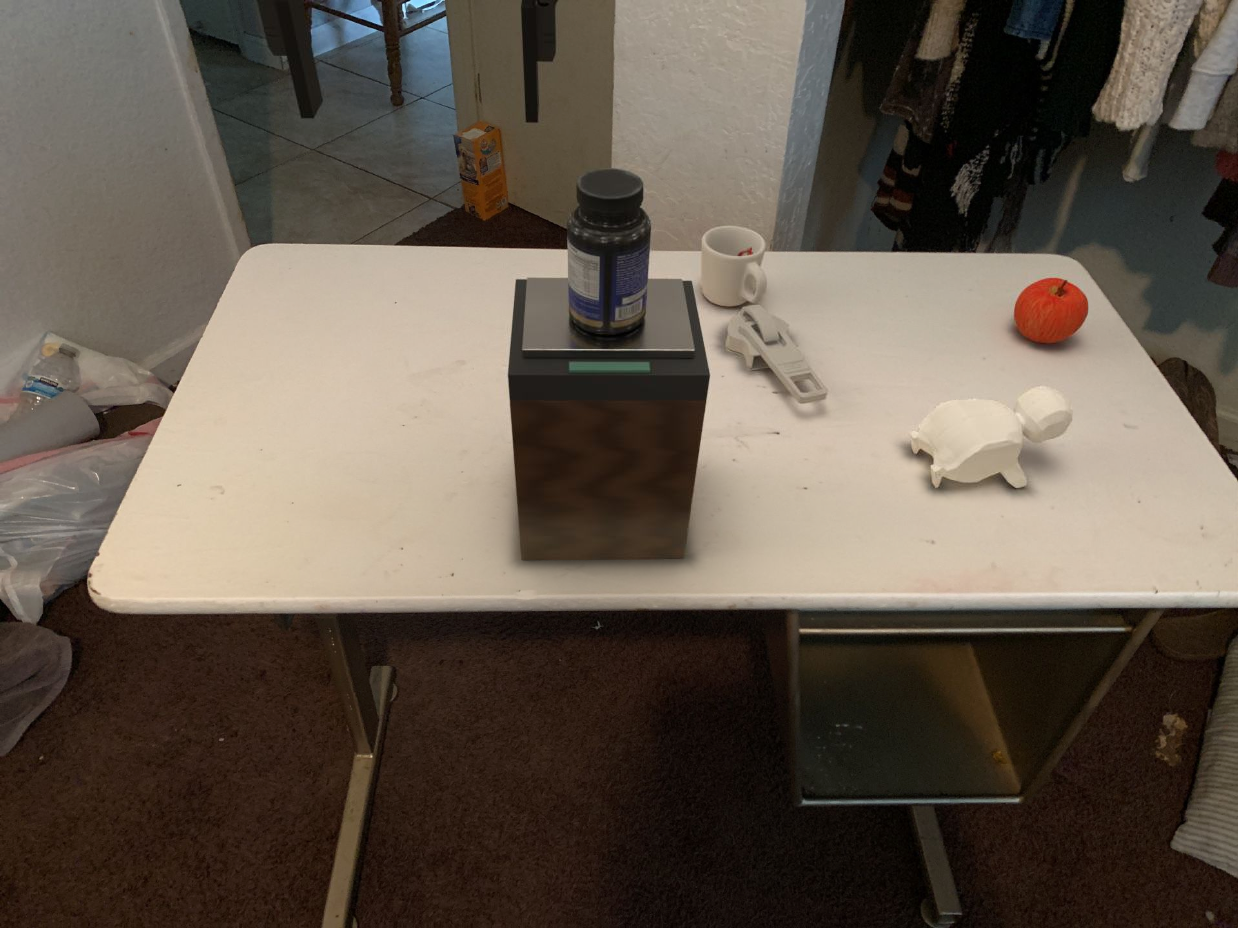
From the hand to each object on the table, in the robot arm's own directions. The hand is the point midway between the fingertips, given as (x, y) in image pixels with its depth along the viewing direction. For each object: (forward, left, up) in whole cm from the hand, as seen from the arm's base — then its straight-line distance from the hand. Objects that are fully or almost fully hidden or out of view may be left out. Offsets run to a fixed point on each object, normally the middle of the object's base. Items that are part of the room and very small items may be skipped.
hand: (423, 112), depth 52 cm
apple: (+68, +31, -39) cm, 84 cm away
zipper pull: (+33, +24, -39) cm, 56 cm away
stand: (+12, +2, -39) cm, 41 cm away
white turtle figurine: (+52, +8, -39) cm, 65 cm away
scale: (+12, +2, -20) cm, 23 cm away
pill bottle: (+12, +2, -17) cm, 21 cm away
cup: (+30, +38, -39) cm, 62 cm away
